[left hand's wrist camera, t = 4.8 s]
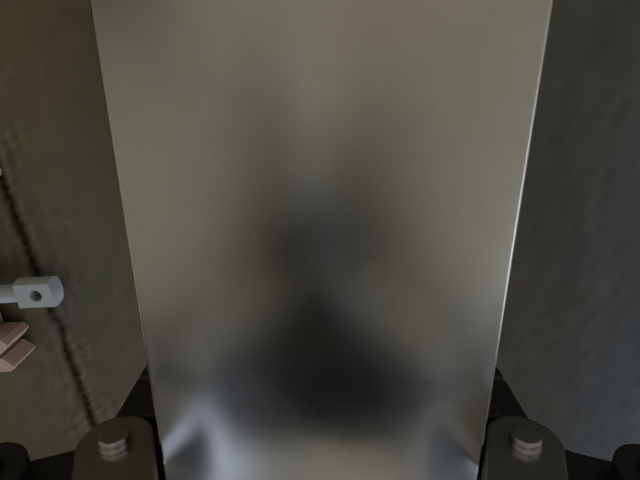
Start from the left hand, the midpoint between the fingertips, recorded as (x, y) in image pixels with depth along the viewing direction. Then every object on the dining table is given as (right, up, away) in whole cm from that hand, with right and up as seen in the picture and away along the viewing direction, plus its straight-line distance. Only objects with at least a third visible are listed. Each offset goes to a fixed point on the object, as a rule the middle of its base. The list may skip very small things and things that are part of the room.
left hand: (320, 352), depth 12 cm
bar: (0, +10, +1) cm, 10 cm away
